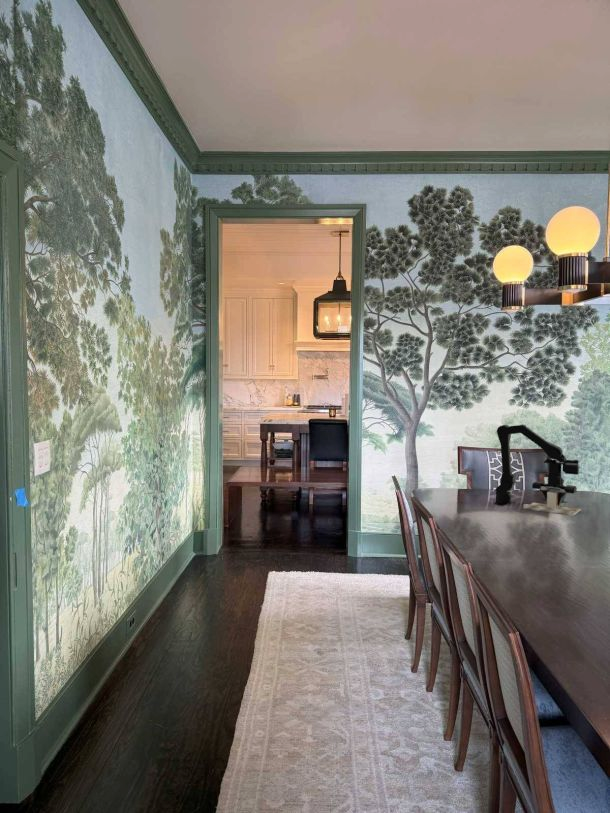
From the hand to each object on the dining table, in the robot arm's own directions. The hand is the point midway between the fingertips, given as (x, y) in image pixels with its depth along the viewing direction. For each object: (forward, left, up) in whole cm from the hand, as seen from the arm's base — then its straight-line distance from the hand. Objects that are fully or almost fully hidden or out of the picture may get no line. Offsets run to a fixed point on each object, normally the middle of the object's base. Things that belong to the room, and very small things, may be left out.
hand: (553, 505), depth 261 cm
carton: (0, 0, -2) cm, 2 cm away
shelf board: (0, -2, -2) cm, 3 cm away
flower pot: (-4, +18, -3) cm, 19 cm away
